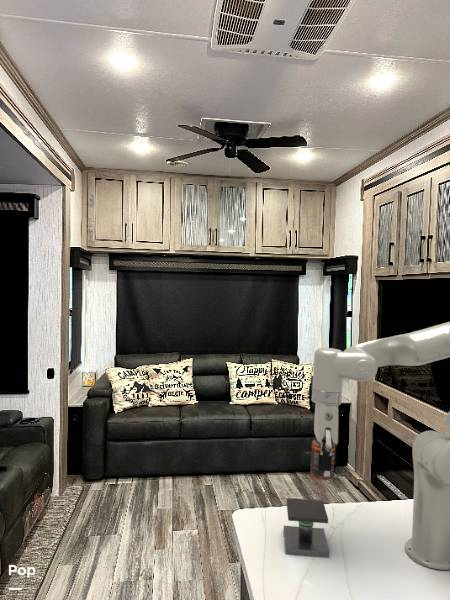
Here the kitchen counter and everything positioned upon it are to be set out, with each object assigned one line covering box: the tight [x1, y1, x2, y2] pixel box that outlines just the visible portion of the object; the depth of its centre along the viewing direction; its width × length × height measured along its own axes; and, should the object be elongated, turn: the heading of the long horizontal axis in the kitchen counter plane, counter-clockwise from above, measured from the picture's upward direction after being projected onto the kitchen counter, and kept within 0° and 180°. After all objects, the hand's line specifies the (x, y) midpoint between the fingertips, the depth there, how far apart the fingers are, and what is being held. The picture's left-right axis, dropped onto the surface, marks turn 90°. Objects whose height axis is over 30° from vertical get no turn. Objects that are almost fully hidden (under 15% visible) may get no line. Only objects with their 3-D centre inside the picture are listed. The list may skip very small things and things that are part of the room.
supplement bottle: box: [309, 437, 336, 481], centre depth 115 cm, size 6×6×11 cm
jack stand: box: [283, 498, 331, 559], centre depth 117 cm, size 11×11×10 cm
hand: (322, 464), depth 115 cm, fingers closed on supplement bottle, 6 cm apart
